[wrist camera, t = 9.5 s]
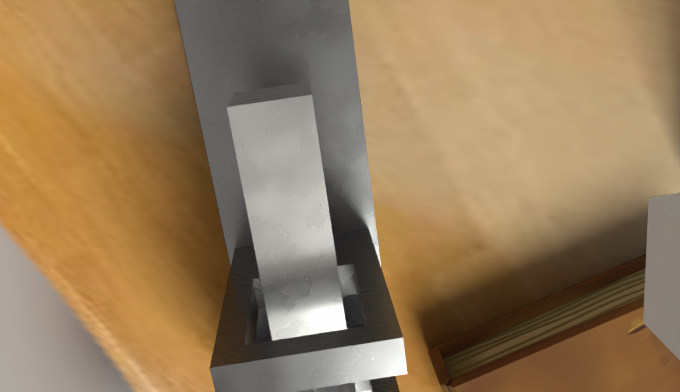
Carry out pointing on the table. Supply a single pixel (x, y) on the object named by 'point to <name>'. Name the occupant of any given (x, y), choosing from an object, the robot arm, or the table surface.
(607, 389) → the diary
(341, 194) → the grey slotted frame stand
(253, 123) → the light grey square rod
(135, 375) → the table surface
